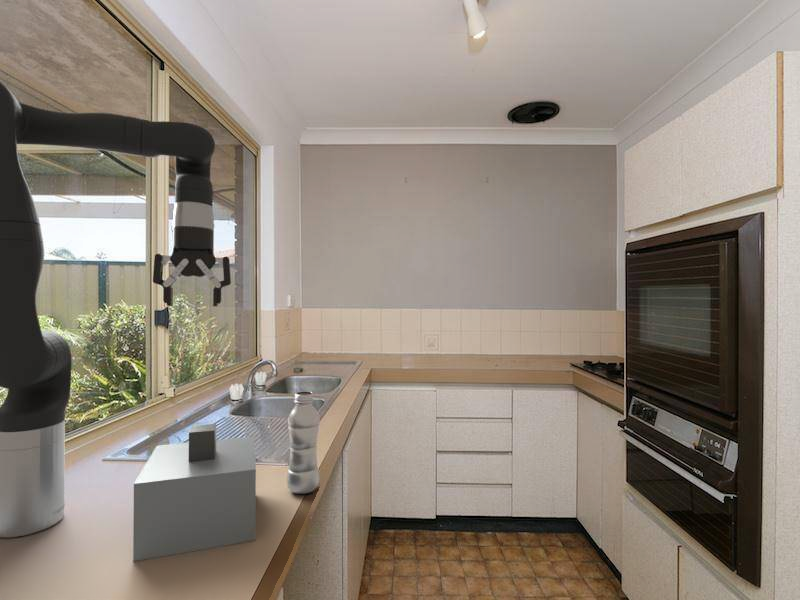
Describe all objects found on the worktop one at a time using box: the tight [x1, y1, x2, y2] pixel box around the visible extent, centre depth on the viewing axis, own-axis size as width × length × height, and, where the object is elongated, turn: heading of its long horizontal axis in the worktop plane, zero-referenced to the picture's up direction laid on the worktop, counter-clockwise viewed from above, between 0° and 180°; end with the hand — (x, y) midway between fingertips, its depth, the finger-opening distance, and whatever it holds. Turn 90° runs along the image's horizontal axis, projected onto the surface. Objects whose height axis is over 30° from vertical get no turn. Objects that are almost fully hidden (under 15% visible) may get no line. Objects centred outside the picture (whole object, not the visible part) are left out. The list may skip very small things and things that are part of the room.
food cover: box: [132, 423, 257, 562], centre depth 74 cm, size 17×17×17 cm
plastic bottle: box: [286, 390, 321, 495], centre depth 87 cm, size 6×7×20 cm
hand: (193, 306), depth 88 cm, fingers open, 8 cm apart
